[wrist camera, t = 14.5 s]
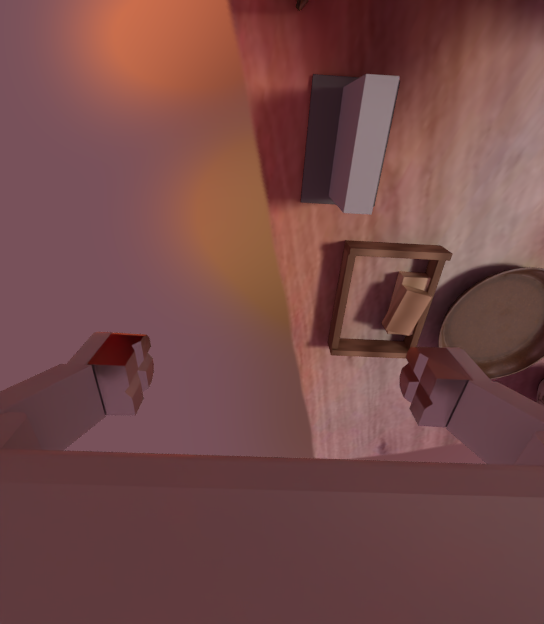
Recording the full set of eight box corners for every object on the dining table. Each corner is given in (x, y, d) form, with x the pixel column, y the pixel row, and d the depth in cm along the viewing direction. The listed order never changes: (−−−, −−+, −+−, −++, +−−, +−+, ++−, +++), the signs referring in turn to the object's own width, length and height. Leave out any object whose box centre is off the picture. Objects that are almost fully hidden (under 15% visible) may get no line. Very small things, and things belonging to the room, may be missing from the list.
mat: (399, 80, 37) (400, 80, 37) (373, 205, 44) (374, 206, 44) (312, 74, 37) (313, 74, 36) (300, 201, 44) (300, 202, 43)
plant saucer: (568, 242, 47) (588, 249, 44) (554, 350, 57) (569, 362, 54) (424, 282, 50) (434, 292, 47) (434, 379, 60) (442, 391, 57)
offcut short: (426, 291, 48) (432, 297, 46) (404, 328, 51) (408, 335, 50) (402, 284, 47) (407, 290, 46) (381, 323, 51) (385, 330, 49)
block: (369, 88, 37) (399, 76, 28) (350, 197, 43) (371, 214, 34) (343, 87, 37) (366, 73, 28) (328, 196, 43) (343, 212, 34)
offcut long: (423, 271, 49) (430, 278, 47) (406, 326, 54) (411, 334, 52) (398, 270, 49) (404, 276, 47) (382, 325, 54) (387, 333, 52)
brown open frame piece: (440, 245, 47) (452, 253, 44) (407, 346, 56) (415, 358, 52) (345, 240, 46) (350, 248, 43) (327, 342, 55) (331, 355, 52)
